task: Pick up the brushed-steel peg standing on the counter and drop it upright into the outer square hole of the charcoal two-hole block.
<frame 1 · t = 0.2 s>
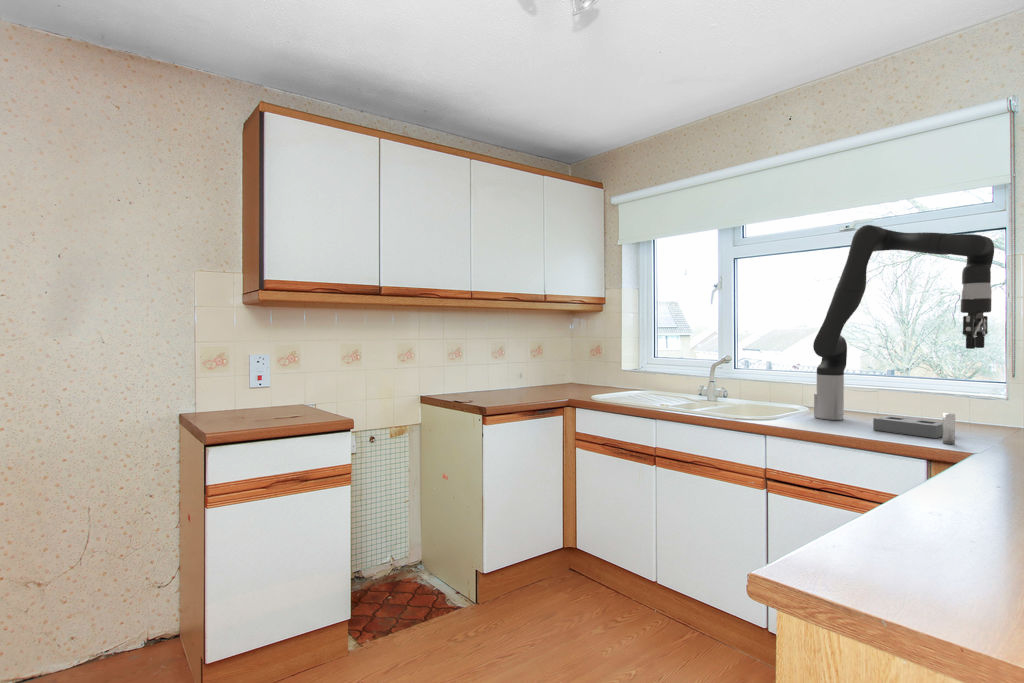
hand: (975, 348, 174), 29 cm above the counter, fingers open, 8 cm apart
hole block: (910, 432, 183), on the counter
steel peg: (948, 443, 166), on the counter
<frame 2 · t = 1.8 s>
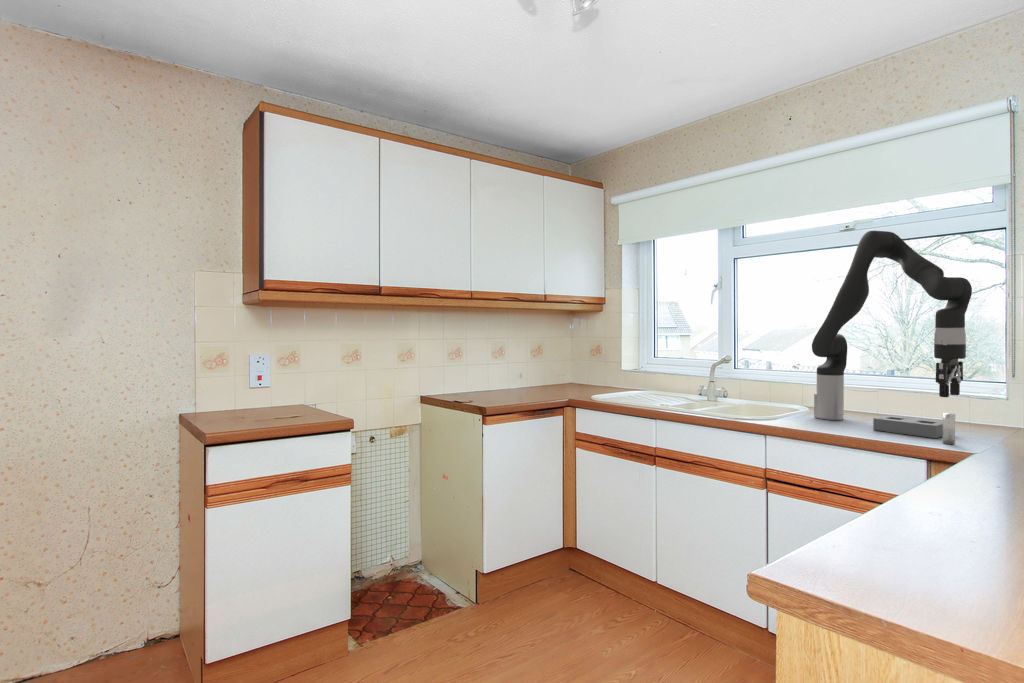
hand: (949, 396, 165), 14 cm above the counter, fingers open, 8 cm apart
nothing on the counter moved.
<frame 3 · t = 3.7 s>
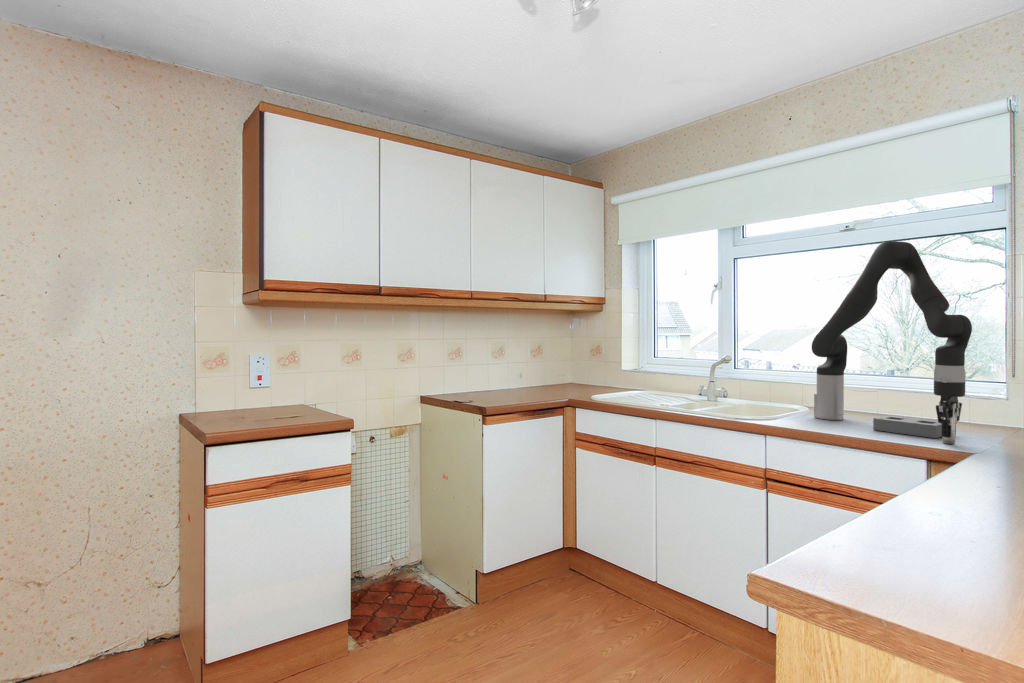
hand: (948, 436, 166), 2 cm above the counter, fingers closed on steel peg, 3 cm apart
steel peg: (948, 443, 166), on the counter, touching gripper
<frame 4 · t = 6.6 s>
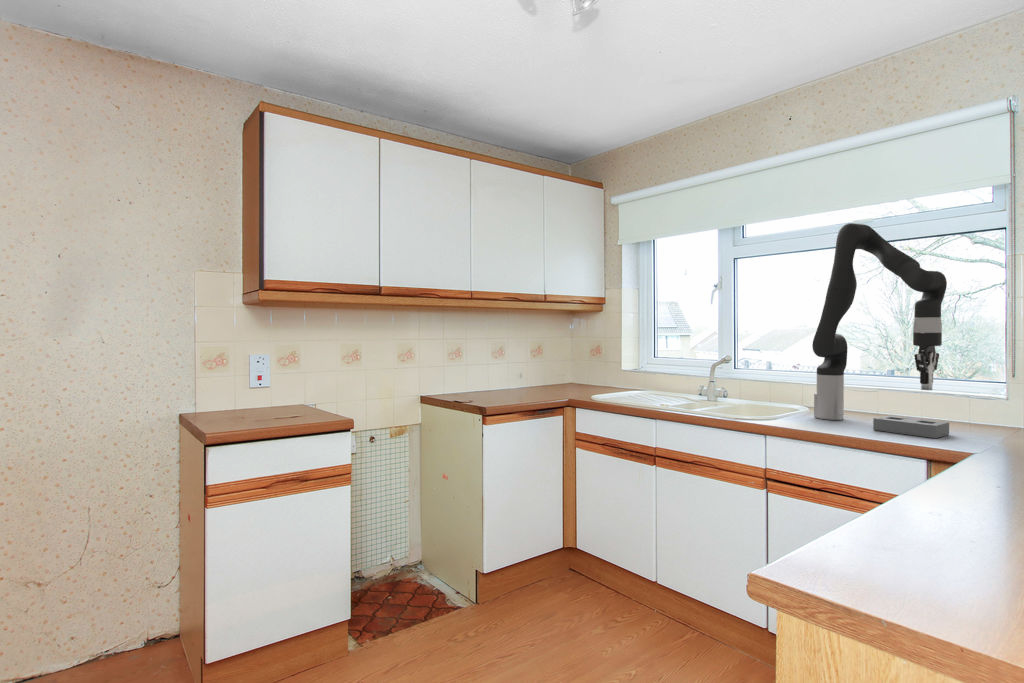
hand: (926, 383, 179), 17 cm above the counter, fingers closed on steel peg, 3 cm apart
steel peg: (926, 389, 179), point 15 cm above the counter, touching gripper
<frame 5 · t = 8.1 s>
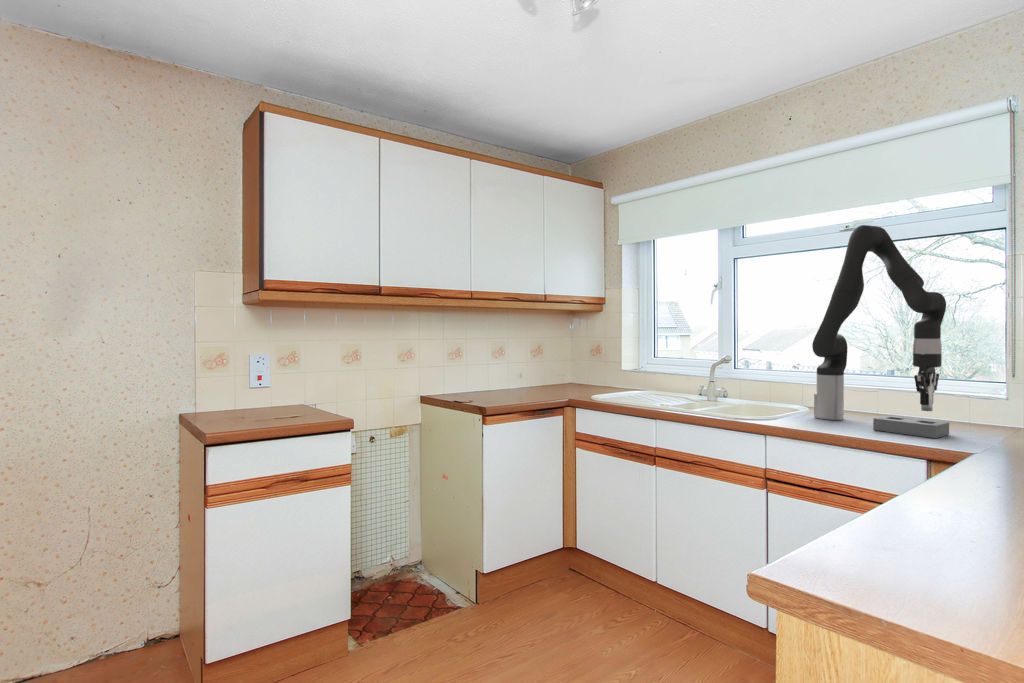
hand: (926, 404, 179), 10 cm above the counter, fingers closed on steel peg, 3 cm apart
steel peg: (926, 410, 179), point 8 cm above the counter, touching gripper
when the fingers open (5 cm above the counter, at t = 9.5 s): steel peg drops 3 cm, resting in hole block.
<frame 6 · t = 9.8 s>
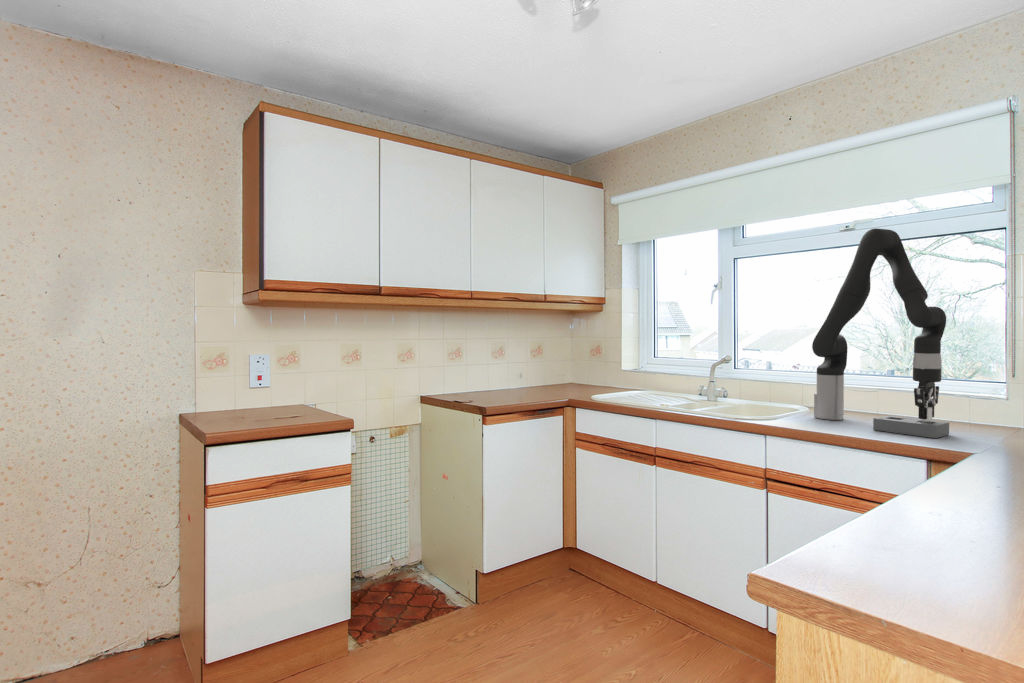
hand: (926, 417, 180), 5 cm above the counter, fingers open, 5 cm apart
steel peg: (926, 434, 180), resting in hole block
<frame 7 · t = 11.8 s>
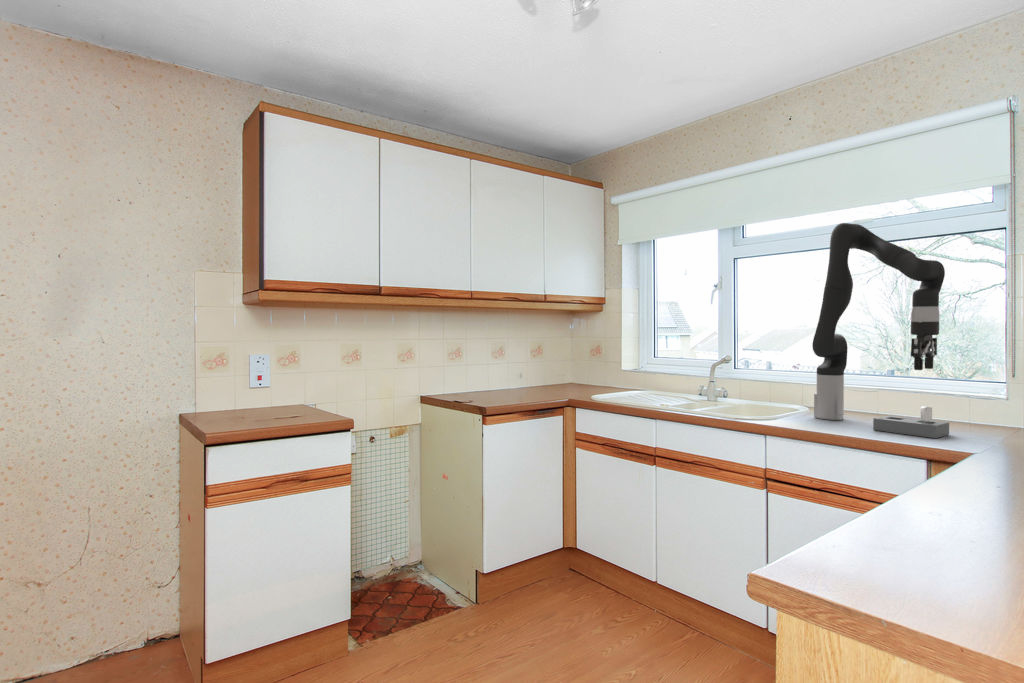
hand: (923, 369, 180), 21 cm above the counter, fingers open, 8 cm apart
nothing on the counter moved.
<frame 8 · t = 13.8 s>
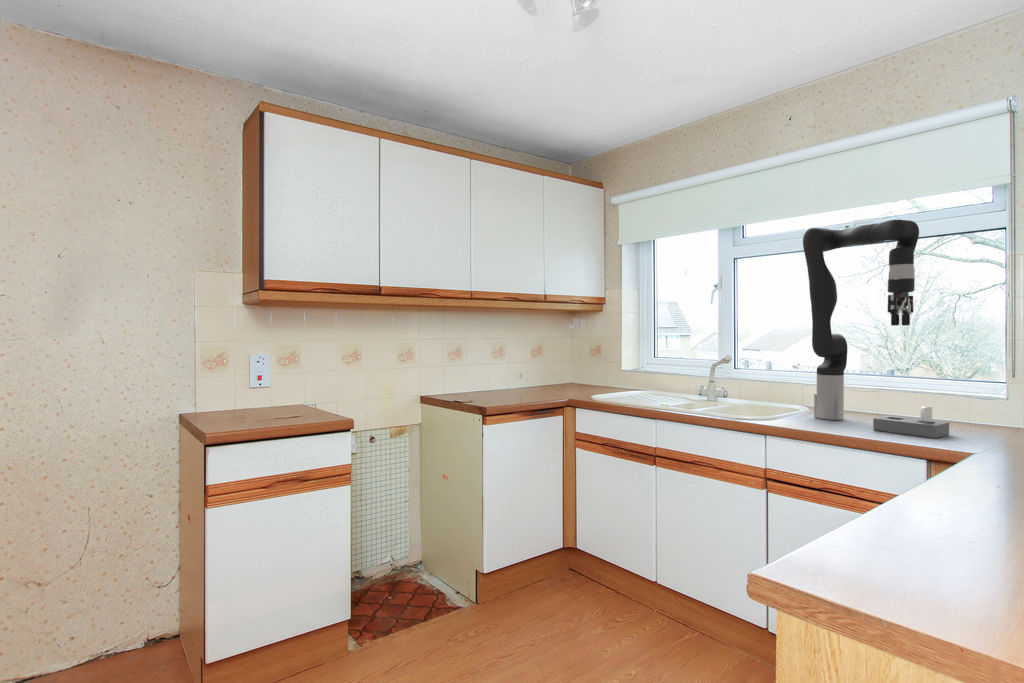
hand: (900, 325, 187), 36 cm above the counter, fingers open, 8 cm apart
nothing on the counter moved.
at the end: steel peg 0.0 cm from the target spot on the hole block, point 0.0 cm above the hole block's base; steel peg tilted 0°; the gripper is holding nothing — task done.
